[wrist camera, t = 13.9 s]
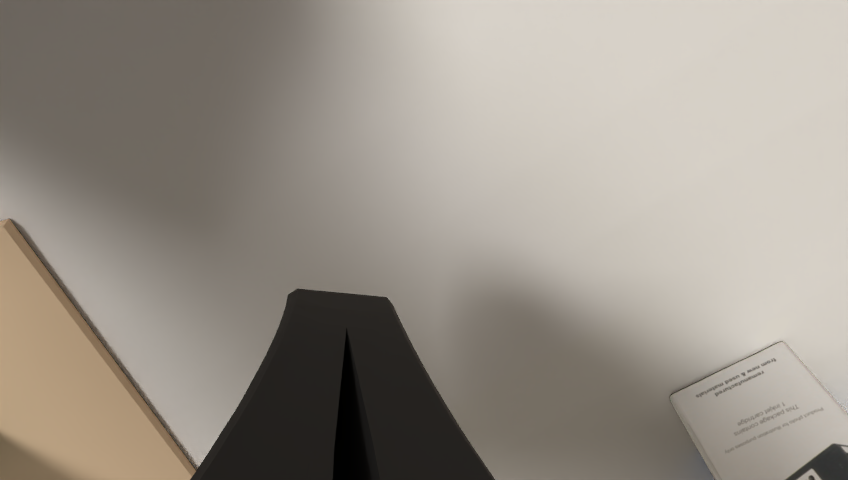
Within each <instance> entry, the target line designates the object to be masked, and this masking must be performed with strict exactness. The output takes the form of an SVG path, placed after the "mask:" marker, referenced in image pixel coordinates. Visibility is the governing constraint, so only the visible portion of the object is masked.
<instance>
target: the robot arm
mask: <svg viewBox="0 0 848 480" xmlns="http://www.w3.org/2000/svg"><path fill="white" fill-rule="evenodd" d="M190 480H495V479H494V477H493V476H492V474H491V473H490V472H489V470H488V469H487V467H486V466H485V464H484V463H483V461H482V460H481V458H480V457H479V456H478V454H477V453H476V451H475V450H474V448H473V447H472V445H471V444H470V442H469V441H468V439H467V438H466V436H465V434H464V433H463V431H462V430H461V428H460V427H459V425H458V424H457V422H456V420H455V419H454V417H453V415H452V414H451V412H450V410H449V409H448V407H447V405H446V404H445V402H444V401H443V399H442V397H441V396H440V394H439V392H438V391H437V389H436V387H435V386H434V384H433V382H432V380H431V379H430V377H429V375H428V373H427V372H426V370H425V368H424V366H423V364H422V362H421V361H420V359H419V357H418V355H417V353H416V351H415V349H414V348H413V346H412V344H411V342H410V340H409V338H408V336H407V334H406V332H405V330H404V328H403V326H402V324H401V322H400V319H399V317H398V315H397V313H396V311H395V309H394V306H393V305H392V303H391V302H390V301H389V300H388V298H387V297H378V296H367V295H357V294H347V293H336V292H326V291H315V290H305V289H296V290H295V291H293V292H292V293H290V294H289V295H288V298H287V303H286V307H285V311H284V314H283V317H282V320H281V322H280V325H279V328H278V330H277V332H276V335H275V337H274V339H273V341H272V343H271V346H270V348H269V350H268V352H267V354H266V356H265V358H264V360H263V362H262V364H261V366H260V368H259V369H258V371H257V373H256V375H255V377H254V379H253V380H252V382H251V384H250V386H249V388H248V390H247V391H246V393H245V395H244V397H243V399H242V400H241V402H240V404H239V405H238V407H237V409H236V411H235V412H234V414H233V415H232V417H231V418H230V420H229V421H228V423H227V425H226V426H225V428H224V429H223V431H222V432H221V434H220V435H219V437H218V439H217V440H216V442H215V443H214V445H213V446H212V448H211V450H210V451H209V453H208V454H207V456H206V457H205V459H204V460H203V462H202V463H201V465H200V466H199V468H198V469H197V471H196V472H195V473H194V475H193V476H192V478H191V479H190Z"/></svg>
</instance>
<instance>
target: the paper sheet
mask: <svg viewBox="0 0 848 480" xmlns="http://www.w3.org/2000/svg"><path fill="white" fill-rule="evenodd" d="M195 472H196V470H195V469H194V467H193V466H192V465H191V463H190V462H189V461H188V459H187V458H186V457H185V455H184V454H183V453H182V451H181V450H180V448H179V447H178V446H177V444H176V443H175V442H174V440H173V439H172V438H171V436H170V435H169V434H168V432H167V431H166V430H165V428H164V427H163V426H162V424H161V423H160V421H159V420H158V419H157V417H156V416H155V415H154V413H153V412H152V411H151V409H150V408H149V407H148V405H147V404H146V403H145V401H144V400H143V399H142V397H141V396H140V394H139V393H138V392H137V390H136V389H135V388H134V386H133V385H132V384H131V382H130V381H129V380H128V378H127V377H126V376H125V374H124V373H123V372H122V370H121V369H120V367H119V366H118V365H117V363H116V362H115V361H114V359H113V358H112V357H111V355H110V354H109V353H108V351H107V350H106V349H105V347H104V346H103V345H102V343H101V342H100V340H99V339H98V338H97V336H96V335H95V334H94V332H93V331H92V330H91V328H90V327H89V326H88V324H87V323H86V322H85V320H84V319H83V318H82V316H81V315H80V313H79V312H78V311H77V309H76V308H75V307H74V305H73V304H72V303H71V301H70V300H69V299H68V297H67V296H66V295H65V293H64V292H63V291H62V289H61V288H60V286H59V285H58V284H57V282H56V281H55V280H54V278H53V277H52V276H51V274H50V273H49V272H48V270H47V269H46V268H45V266H44V265H43V264H42V262H41V261H40V259H39V258H38V257H37V255H36V254H35V253H34V251H33V250H32V249H31V247H30V246H29V245H28V243H27V242H26V241H25V239H24V238H23V237H22V235H21V234H20V232H19V231H18V230H17V228H16V227H15V226H14V224H13V223H12V222H11V220H10V219H7V220H3V221H0V480H190V479H191V478H192V476H193V475H194V473H195Z"/></svg>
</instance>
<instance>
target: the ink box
mask: <svg viewBox="0 0 848 480" xmlns="http://www.w3.org/2000/svg"><path fill="white" fill-rule="evenodd" d="M670 401H671V403H672V405H673V407H674V409H675V411H676V412H677V414H678V416H679V417H680V419H681V421H682V423H683V424H684V426H685V428H686V430H687V431H688V433H689V435H690V437H691V439H692V440H693V442H694V444H695V446H696V447H697V449H698V451H699V453H700V454H701V456H702V458H703V460H704V461H705V463H706V465H707V467H708V468H709V470H710V472H711V474H712V475H713V477H714V479H715V480H848V413H847V412H846V411H845V410H844V409H843V408H842V406H841V405H840V404H839V403H838V402H837V401H836V400H835V399H834V397H833V396H832V395H831V394H830V393H829V392H828V391H827V390H826V389H825V388H824V386H823V385H822V384H821V383H820V382H819V381H818V379H817V378H816V377H815V376H814V375H813V374H812V373H811V371H810V370H809V369H808V368H807V367H806V366H805V365H804V363H803V362H802V361H801V360H800V359H799V358H798V357H797V355H796V354H795V353H794V352H793V351H792V350H791V349H790V347H789V346H788V345H787V344H786V343H784V342H779V343H777V344H775V345H773V346H771V347H769V348H767V349H765V350H763V351H761V352H759V353H757V354H755V355H752V356H750V357H748V358H746V359H744V360H742V361H739V362H737V363H736V364H734V365H732V366H729V367H727V368H725V369H723V370H721V371H719V372H717V373H715V374H713V375H711V376H709V377H707V378H705V379H703V380H701V381H699V382H697V383H695V384H693V385H691V386H689V387H687V388H684V389H682V390H680V391H678V392H676V393H674V394H672V395H671V396H670Z"/></svg>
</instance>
